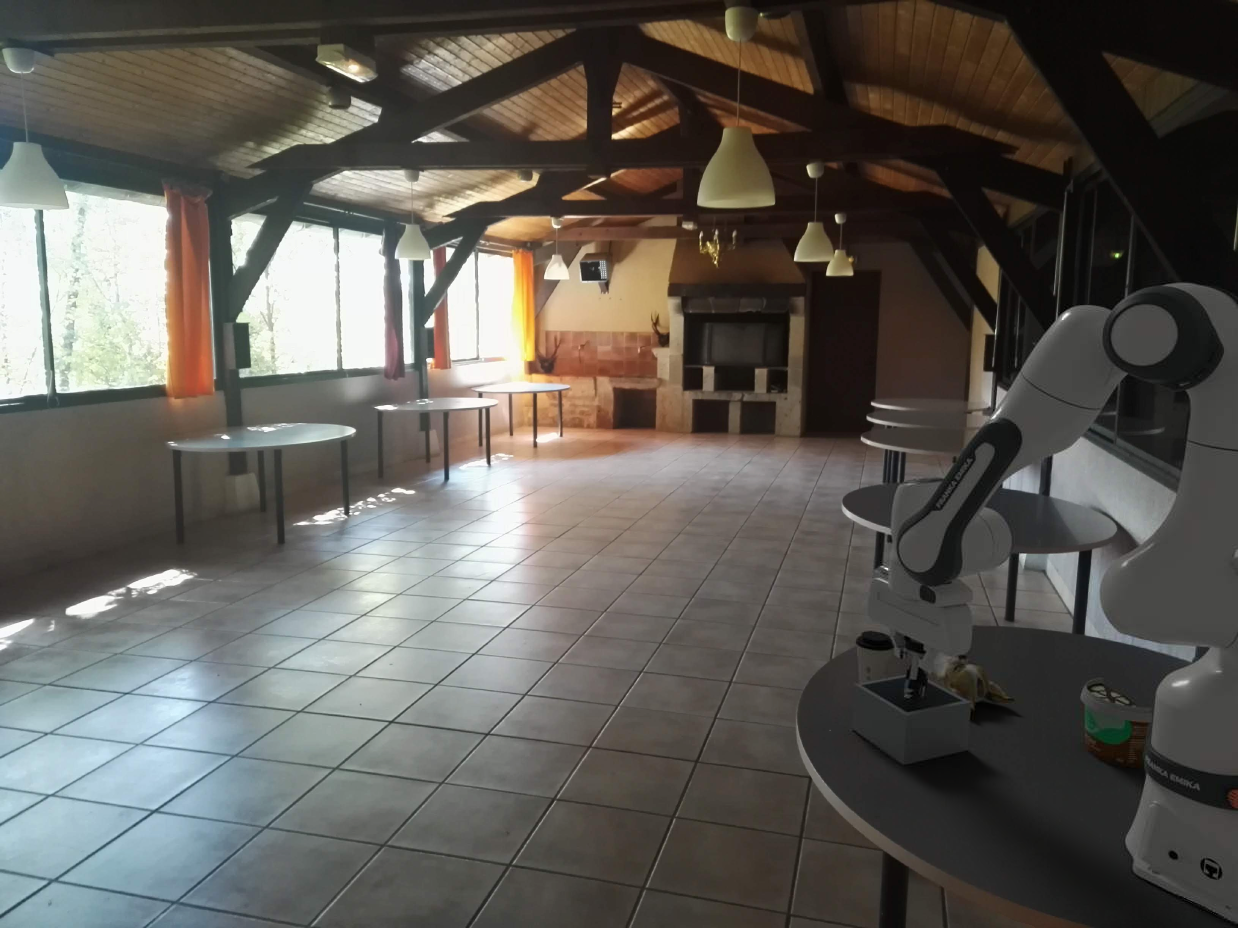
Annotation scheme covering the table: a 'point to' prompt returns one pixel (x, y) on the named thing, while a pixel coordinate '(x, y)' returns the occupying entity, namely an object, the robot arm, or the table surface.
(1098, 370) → the robot arm
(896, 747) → the bin
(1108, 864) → the table surface
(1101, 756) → the food container
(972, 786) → the table surface
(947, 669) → the ceramic sculpture
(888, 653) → the coffee cup
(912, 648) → the push button
